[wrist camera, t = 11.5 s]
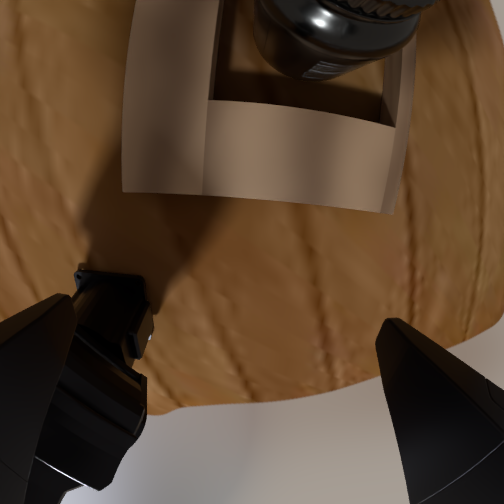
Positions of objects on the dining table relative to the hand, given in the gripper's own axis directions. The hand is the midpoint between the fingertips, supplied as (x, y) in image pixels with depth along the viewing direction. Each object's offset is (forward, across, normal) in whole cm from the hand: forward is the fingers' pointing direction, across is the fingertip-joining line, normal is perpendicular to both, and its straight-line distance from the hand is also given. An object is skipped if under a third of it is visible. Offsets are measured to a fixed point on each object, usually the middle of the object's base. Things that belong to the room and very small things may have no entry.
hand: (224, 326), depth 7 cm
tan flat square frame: (+13, -2, -10) cm, 16 cm away
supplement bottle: (+13, -3, -11) cm, 18 cm away
